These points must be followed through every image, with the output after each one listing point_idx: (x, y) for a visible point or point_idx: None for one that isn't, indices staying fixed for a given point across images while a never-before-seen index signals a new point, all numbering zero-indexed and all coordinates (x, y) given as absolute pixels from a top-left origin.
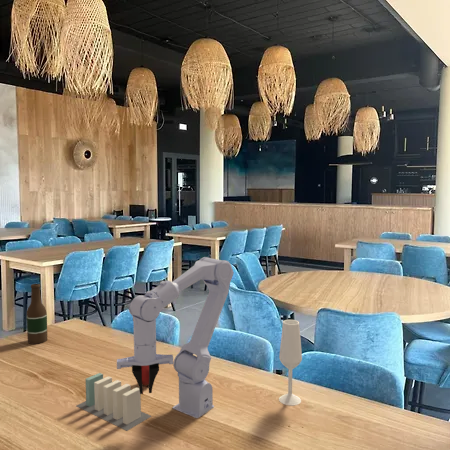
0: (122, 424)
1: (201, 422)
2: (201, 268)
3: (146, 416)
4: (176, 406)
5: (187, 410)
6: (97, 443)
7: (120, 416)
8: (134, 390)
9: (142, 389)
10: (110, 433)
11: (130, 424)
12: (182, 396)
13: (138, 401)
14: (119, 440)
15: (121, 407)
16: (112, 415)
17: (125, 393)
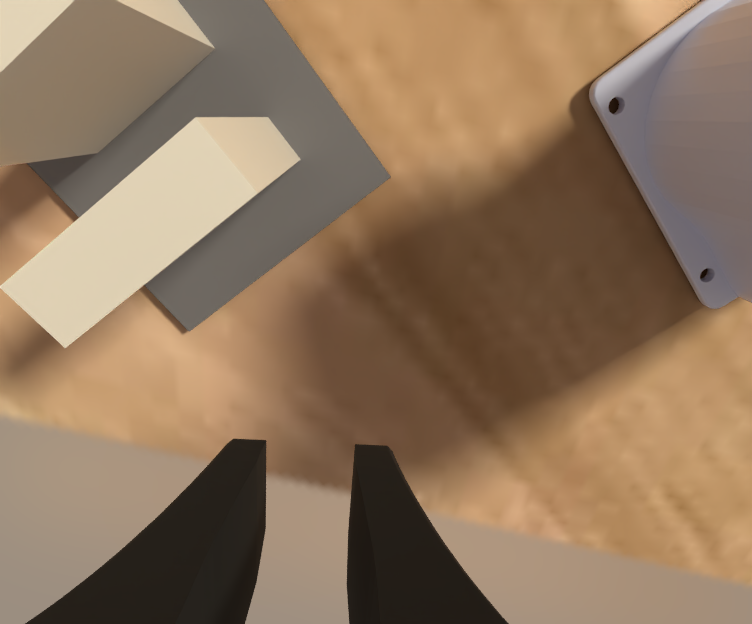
0: None
1: (711, 346)
2: None
3: (346, 169)
4: (631, 84)
5: (688, 216)
6: (3, 396)
7: (117, 128)
8: (166, 216)
9: (248, 600)
10: None
11: (213, 253)
12: (739, 194)
13: (255, 195)
14: (147, 401)
15: (89, 121)
16: None
17: (39, 276)
